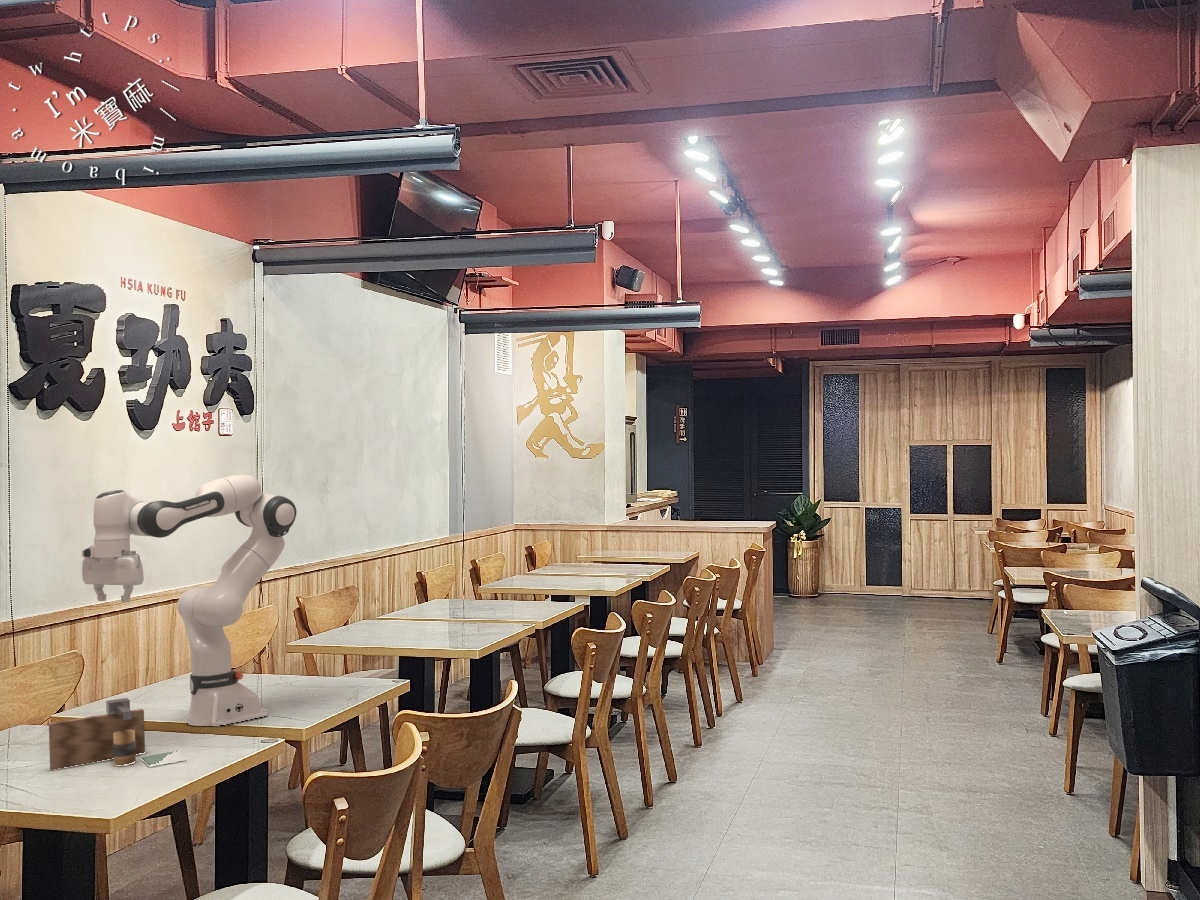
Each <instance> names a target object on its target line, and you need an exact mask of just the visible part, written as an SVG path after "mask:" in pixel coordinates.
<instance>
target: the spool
mask: <svg viewBox="0 0 1200 900" xmlns="http://www.w3.org/2000/svg"><path fill="white" fill-rule="evenodd" d="M113 756H114V760H113V765H114V764H116V765H124V764H129V763H132V762H134V761H136V760H137V759H136V757H137V756H136V740H135V730H120V731H116V732H114V733H113ZM136 762H137V761H136Z"/></svg>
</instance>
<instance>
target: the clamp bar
mask: <svg viewBox="0 0 1200 900" xmlns="http://www.w3.org/2000/svg"><path fill="white" fill-rule="evenodd" d="M130 701H131V700H130V699H129V698H128V697H123V698H116V699H110V700H109V699H108V700H106V701H105V703H106V714H109V715H112V714H117V715H118V716H119V717H120V718H121V719H122V720H129V719H132V711H131V702H130Z"/></svg>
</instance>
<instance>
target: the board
mask: <svg viewBox="0 0 1200 900" xmlns="http://www.w3.org/2000/svg"><path fill="white" fill-rule="evenodd" d="M130 710H131V709H130ZM131 711H132V719H129V720H122V719H121V718H120V717H119V716H118V715H117V714H112V715H109V714H108V713H105V714H100V715H99V714H98V715H93V716H86V717H80V718H79V717H78V718H73V719H67V720H66V719H65V720H61V721H54V722H49V723H48V741H49V743H48V745H49V770H50V771H51V770H52V771H55V770H54V769H57V770H59V769H58V768H63V769H65V768H64V767H69V768H71V767H70V766H75V765H80V766H82V765H81V764H86V765H88V764H87V763H92V762H97V761H102V760H107V759H112V758H114V756H113V733H114V732H116V731H120V730H135V740H136V754H139V753H144V752H145V753H146V739H145V738H146V737H145V733H146V731H145V710H144V709H143V708H139V709H132V710H131ZM92 764H93V763H92ZM75 767H76V766H75Z"/></svg>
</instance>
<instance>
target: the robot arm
mask: <svg viewBox="0 0 1200 900" xmlns="http://www.w3.org/2000/svg"><path fill="white" fill-rule="evenodd" d="M230 514H234V515H235V518H236V519H237V521H238V522H239V523H241V524H242V525H243V526H246V527H249V528H252V530H251V532H250V535H249V537H248V539H246V540H245V541H244V542H243V543H242V545H240V546H239V547H238V548H237V550H236V551H235V552H234V553H233V554H231V556H230V557H229V558H228V559H227V560H226V561H225V562H224V563H223V564H222V567H221V570H220V571H221V573H220V574H219V576H218V578H217V580H216V581H215V583H214V584H213V585H211V586H210V587H205V586H198V587H194V588H190V589H188V590H185V591H184V592H183V593H182V594H180V597H179V599H178V601H177V611H178V613H179V615H180V616H181V618H182V620H183V623H184V624H183V625H184V628H185V632H186V634H187V638H188V642H189V646H190V662H191V663H190V666H191V669H190V670H191V674H190V675H189V676H190V677H189V678H190V679H189V691H190V694H191V697H190V699H191V700H190V707H189V713H188V719H187V722H186V724H187V723H188V725H190V726H194V727H211V726H212V727H221V726H220V725H224V724H229V723H234V724H237V723H236V722H239V723H242V722H241V721H244V722H246V721H245V720H248V721H251V720H250V719H253V720H255V719H254V718H258V719H260V718H259V717H263V718H265V717H264V716H266V717H268V716H267V715H269V712H268V710H267V709H266V708H265V707H262V706H261V705H260V700H259V696H258V695H257V694H256V692H254V691H252V690H251V689H250V688H248V687H246V686H245V685H244V684H242V683H240V682H239V681H240V680H242V679H243V678H244V674H243V673H242V672H241V671H235V670H232V652H231V651H232V649H231V643H230V641H229V639H228V638H227V636H226V633H225V630H224V627H228V626H231V625H234V624H236V623H237V622H238V621H239V620H240V618H241V617H242V615H243V610H244V603H245V602H246V600H247V597H248V596H249V594H250V592H252V590H253V589H254V587H255V586H256V585H257V584H258V582H259V581H260V580H261V579H262V578H263V577H264V575H266V574H267V572H268V571H269V570H270V569H271V568H272V566H274V564H275V563H276V561H277V560H278V559H279V557H280V555H281V554H282V552H283V550H285V549H284V548H285V545H286V544H285V543H286V542H285V539H284V537H283V536H285V535H287V534H288V533H289V531H290V529H291V527H292V526H294V525H293V524H294V523H295V521H296V517H297V507H296V505H295V503H294V502H293V501H292V500H291V499H289V498H288V497H286V496H282V495H277V494H272V493H263V492H262V486H261V484H260V481H259V480H258V479H257V478H256V477H255V476H254V475H252V474H242V473H241V474H233V475H228V476H227V475H226V476H224V477H223V476H222V477H219V478H214V479H212V480H209V481H207V482H204V483H203V484H201V485H199V487H198V488H197V490H196V493H195V496H193V497H189V498H187V499H184V500H180V501H177V502H173V501H168V500H154V501H152V500H151V501H147V500H143V499H140V498H136V497H134V496H133V495H131V494H129V493H127V492H126V491H125V490H122V489H117V490H115V489H114V490H109V491H106V492H102V493H100V494H98V495H97V496H96V497H95V499H94V505H93V527H94V531H95V533H94V538H93V544H92V545H90V546H88V547H86V548H84V549H82V550H81V557H82V558H83V560H82V563H81V574H82V582H83V583H84V584H85V585H93V590H94V592H95V594H96V599H97V602H105V601H107V594H106V593H105V592H104V589H103V588H105V586H106V585H107V586H108V585H109V586H122V589H123V590H124V592H123V595H120V601H121V603H130V602H131V595H132V592H133V590H134V586H140V585H142V584H143V583H144V579H145V577H144V576H145V575H144V570H143V569H144V567H143V563H142V560H141V555H140V554H139V553H138V552H137V551H136V550H131V544H130V543H131V541H130V540H131V539H130V537H131V535H133V536H138V537H139V536H140V537H153V538H158V539H159V538H160V539H162V538H167V537H169V536H170V535H172V534H173V533H174V532H175V531H177V530H178V529H179V528H180V527H182V526H183V525H185V524H188V523H190V522H194V521H197V520H199V519H203V518H205V517H207V518H215V517H223V516H227V515H230Z"/></svg>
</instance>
